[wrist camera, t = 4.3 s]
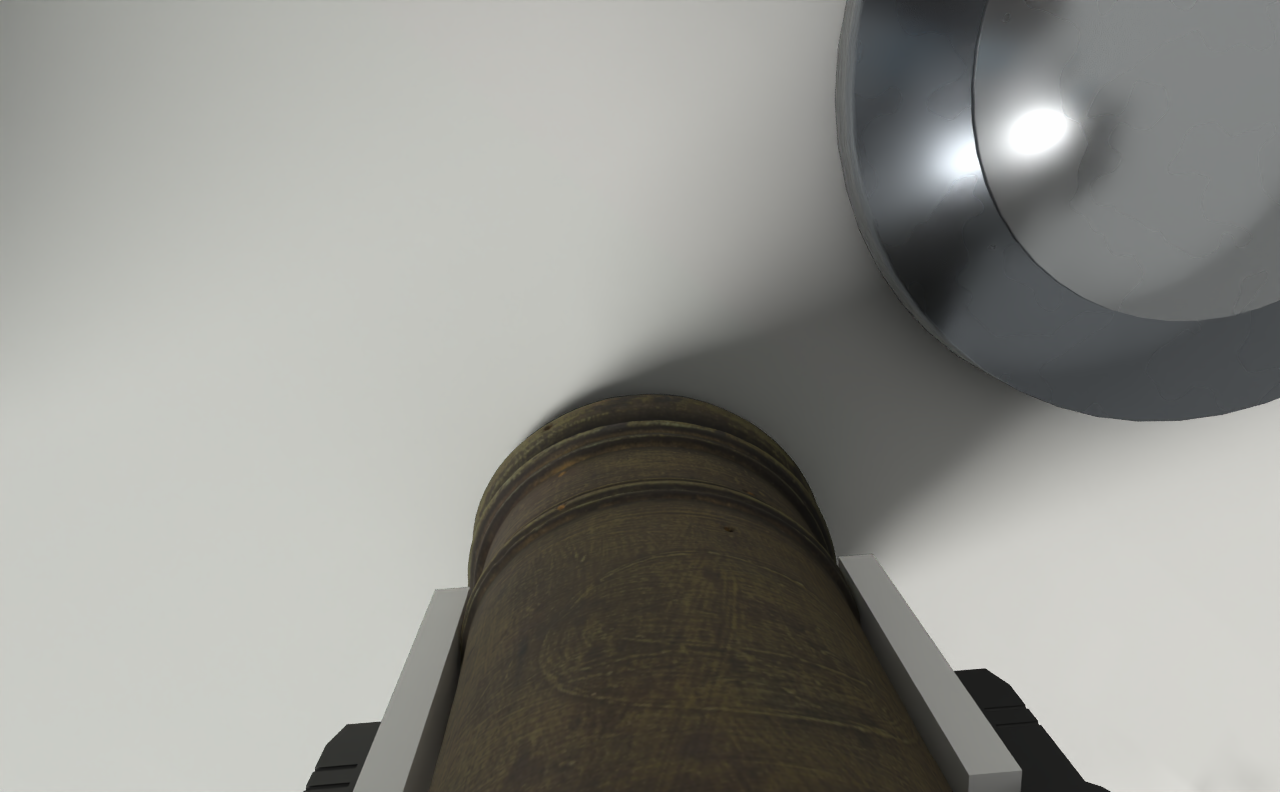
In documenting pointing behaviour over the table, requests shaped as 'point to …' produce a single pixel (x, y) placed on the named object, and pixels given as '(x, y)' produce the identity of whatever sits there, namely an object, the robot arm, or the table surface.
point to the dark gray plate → (1076, 191)
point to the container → (665, 621)
